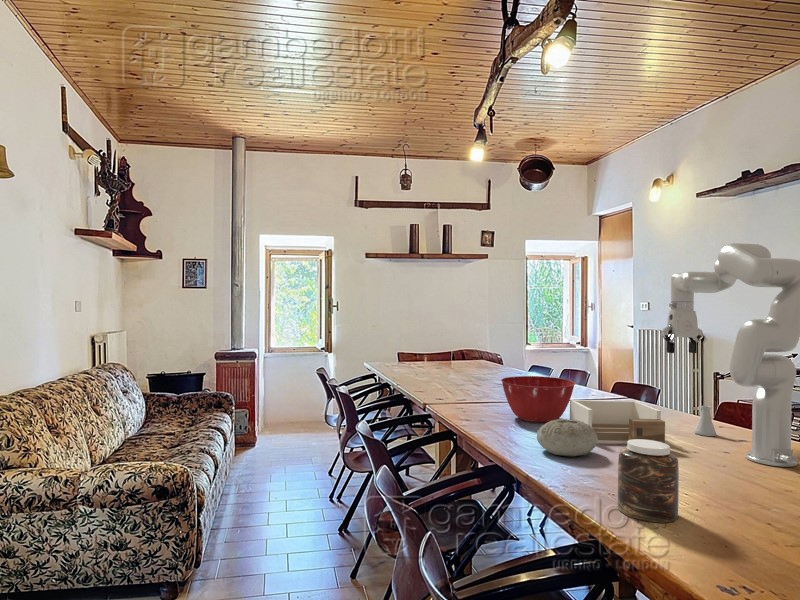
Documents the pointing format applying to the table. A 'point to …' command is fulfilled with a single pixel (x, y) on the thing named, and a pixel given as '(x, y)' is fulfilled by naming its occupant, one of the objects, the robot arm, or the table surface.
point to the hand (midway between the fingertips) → (681, 352)
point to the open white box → (611, 417)
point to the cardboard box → (647, 429)
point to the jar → (648, 481)
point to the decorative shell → (567, 437)
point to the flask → (705, 423)
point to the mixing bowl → (537, 397)
